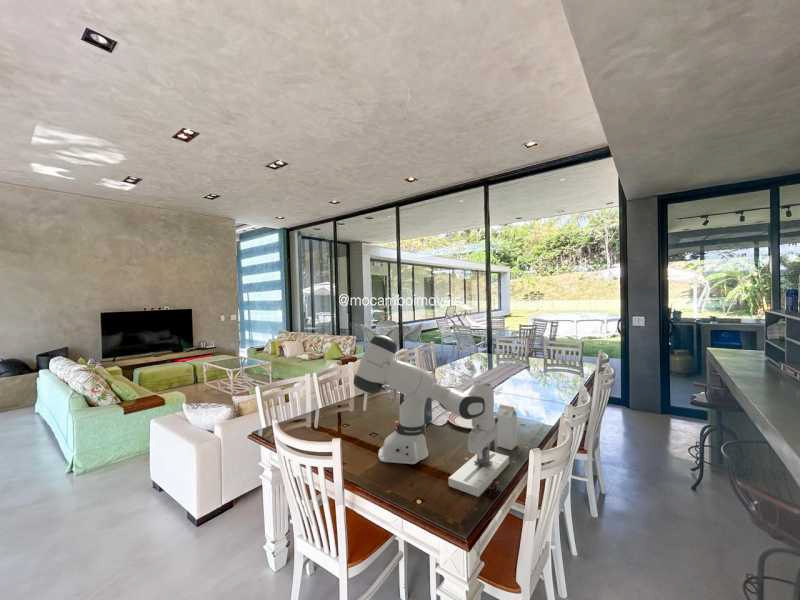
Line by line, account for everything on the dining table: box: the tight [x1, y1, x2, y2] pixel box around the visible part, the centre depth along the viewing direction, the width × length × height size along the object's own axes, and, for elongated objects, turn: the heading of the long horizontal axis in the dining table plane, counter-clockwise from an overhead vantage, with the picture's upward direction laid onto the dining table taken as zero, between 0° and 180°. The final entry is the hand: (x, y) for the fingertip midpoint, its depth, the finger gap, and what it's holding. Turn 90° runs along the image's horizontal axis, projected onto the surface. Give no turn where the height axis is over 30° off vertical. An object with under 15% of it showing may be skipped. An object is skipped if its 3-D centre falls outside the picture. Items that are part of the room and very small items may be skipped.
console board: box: [448, 450, 510, 498], centre depth 135 cm, size 30×12×3 cm, turn 142°
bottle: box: [420, 367, 433, 424], centre depth 195 cm, size 10×10×30 cm
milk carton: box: [496, 404, 518, 451], centre depth 160 cm, size 7×7×19 cm
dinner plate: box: [447, 412, 474, 430], centre depth 190 cm, size 28×27×3 cm
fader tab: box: [474, 446, 493, 467], centre depth 137 cm, size 4×6×6 cm
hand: (483, 456), depth 137 cm, fingers closed on fader tab, 3 cm apart
